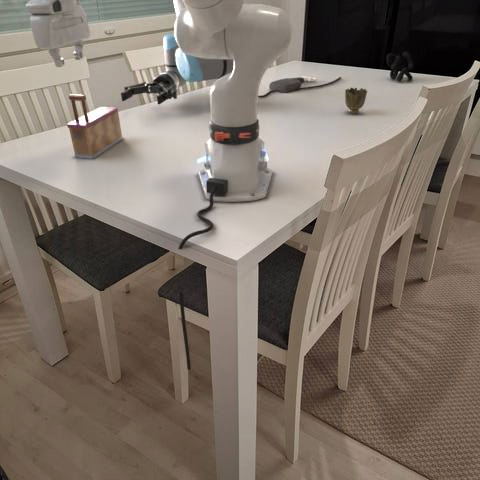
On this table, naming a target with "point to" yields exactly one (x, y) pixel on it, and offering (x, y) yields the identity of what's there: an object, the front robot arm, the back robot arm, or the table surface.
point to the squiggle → (399, 66)
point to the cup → (355, 99)
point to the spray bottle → (289, 83)
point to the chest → (96, 137)
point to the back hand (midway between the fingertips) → (140, 98)
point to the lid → (90, 117)
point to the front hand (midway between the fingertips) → (70, 62)
